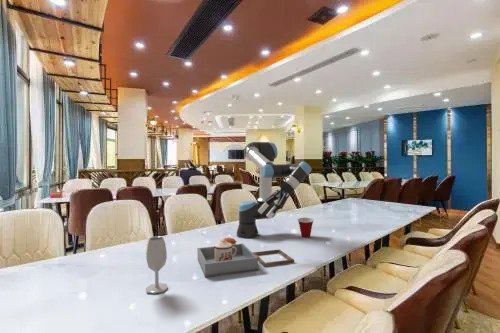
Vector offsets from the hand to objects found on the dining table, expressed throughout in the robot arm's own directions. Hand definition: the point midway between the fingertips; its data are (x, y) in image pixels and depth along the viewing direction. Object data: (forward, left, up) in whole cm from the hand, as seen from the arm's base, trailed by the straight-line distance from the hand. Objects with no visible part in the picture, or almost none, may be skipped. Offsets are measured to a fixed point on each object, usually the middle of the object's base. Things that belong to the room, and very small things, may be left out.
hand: (263, 214), depth 153 cm
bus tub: (+3, -21, -23) cm, 31 cm away
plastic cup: (-30, +42, -23) cm, 57 cm away
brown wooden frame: (+3, +4, -23) cm, 24 cm away
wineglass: (+21, -54, -23) cm, 63 cm away
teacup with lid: (+2, -21, -22) cm, 31 cm away
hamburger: (-21, -14, -23) cm, 35 cm away
